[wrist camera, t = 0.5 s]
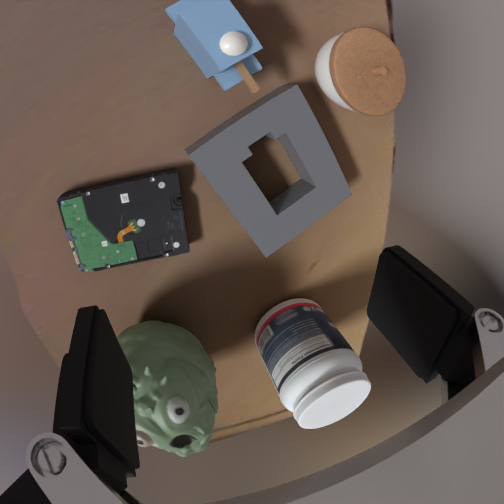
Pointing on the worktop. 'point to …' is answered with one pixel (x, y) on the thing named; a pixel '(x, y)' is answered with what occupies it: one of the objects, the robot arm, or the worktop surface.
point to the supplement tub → (310, 363)
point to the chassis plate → (300, 152)
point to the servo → (217, 40)
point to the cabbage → (170, 387)
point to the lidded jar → (361, 71)
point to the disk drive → (125, 221)
